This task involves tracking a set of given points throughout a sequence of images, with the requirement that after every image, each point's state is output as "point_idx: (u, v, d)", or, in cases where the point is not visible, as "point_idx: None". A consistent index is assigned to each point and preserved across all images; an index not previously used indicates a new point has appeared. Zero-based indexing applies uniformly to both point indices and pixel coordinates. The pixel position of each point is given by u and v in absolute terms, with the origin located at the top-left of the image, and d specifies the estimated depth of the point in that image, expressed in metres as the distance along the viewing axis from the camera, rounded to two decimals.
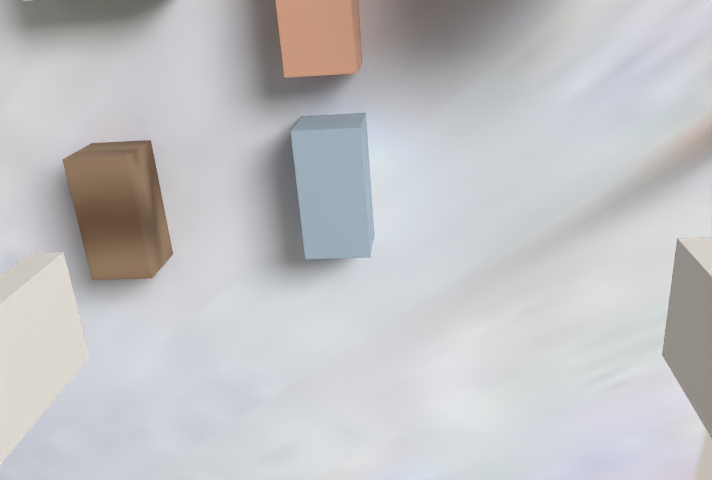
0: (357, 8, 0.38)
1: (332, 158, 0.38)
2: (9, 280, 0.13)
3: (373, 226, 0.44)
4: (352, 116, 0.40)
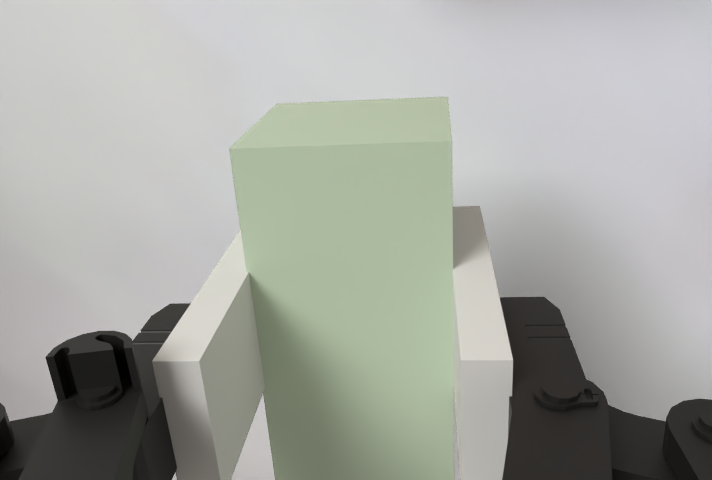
0: None
1: None
2: None
3: None
4: None
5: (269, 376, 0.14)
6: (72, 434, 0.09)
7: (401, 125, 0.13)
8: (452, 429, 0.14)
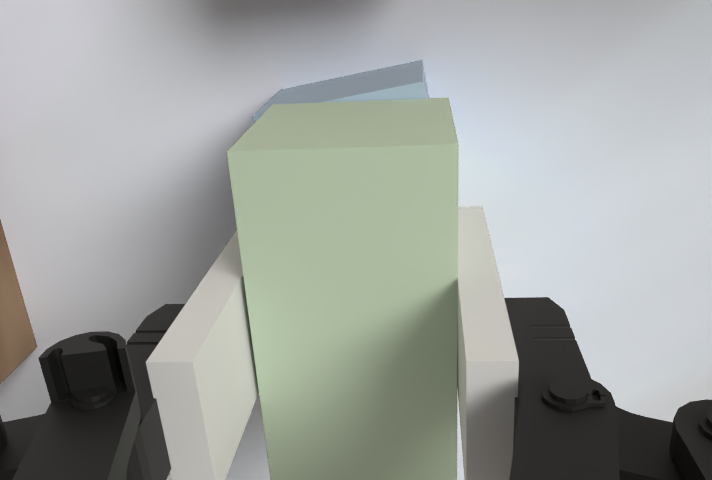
0: None
1: None
2: None
3: None
4: (394, 68, 0.18)
5: (267, 386, 0.14)
6: (65, 435, 0.09)
7: (404, 127, 0.13)
8: (455, 439, 0.14)
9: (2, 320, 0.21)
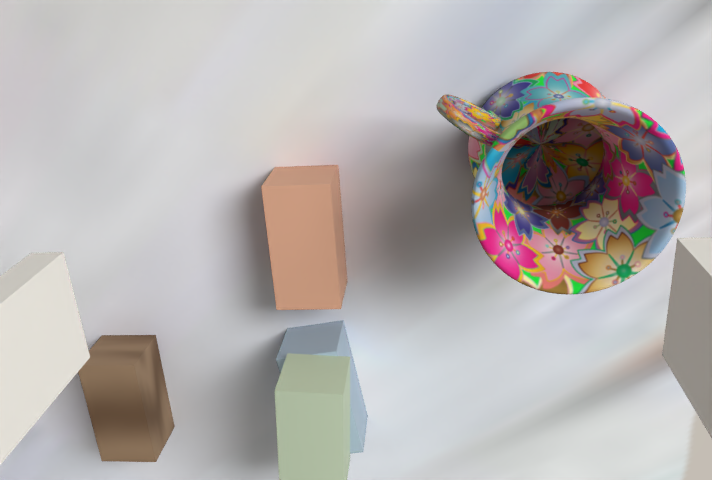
0: (342, 241, 0.43)
1: None
2: (10, 280, 0.13)
3: (365, 411, 0.48)
4: (331, 328, 0.45)
5: (281, 458, 0.41)
6: None
7: (329, 380, 0.40)
8: (343, 478, 0.41)
9: (164, 418, 0.49)
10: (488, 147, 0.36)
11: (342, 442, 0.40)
